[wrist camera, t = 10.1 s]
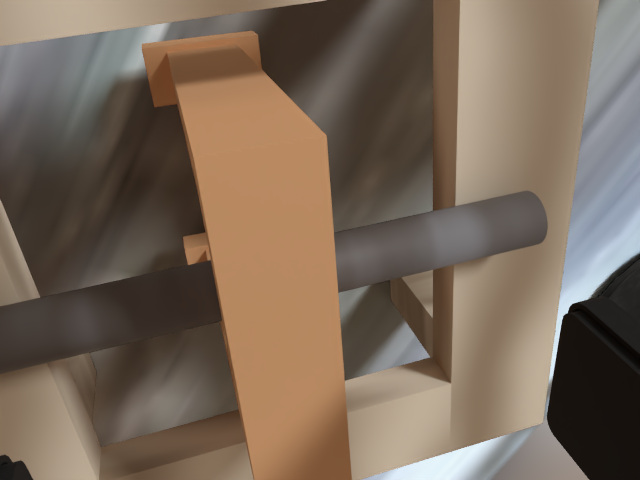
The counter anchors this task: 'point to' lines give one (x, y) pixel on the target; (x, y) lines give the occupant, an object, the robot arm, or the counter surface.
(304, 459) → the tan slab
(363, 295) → the counter surface
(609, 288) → the holder
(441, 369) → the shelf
